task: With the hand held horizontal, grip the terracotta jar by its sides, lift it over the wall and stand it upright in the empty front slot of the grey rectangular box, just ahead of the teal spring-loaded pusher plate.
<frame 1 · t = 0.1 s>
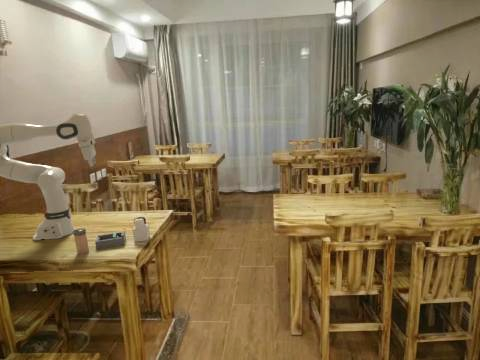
hand: (93, 165, 205), 39 cm above the table, tool pointing down, fingers open, 8 cm apart
medicine bottle: (142, 239, 191), on the table
pusher plate: (116, 237, 187), point 3 cm above the table, slide at 0.0 cm
terracotta jar: (83, 252, 178), on the table
grey rectangular box: (111, 243, 187), on the table
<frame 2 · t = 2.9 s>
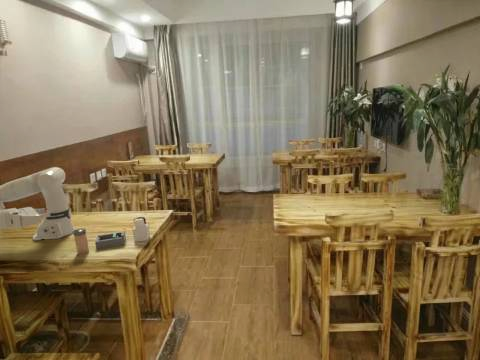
hand: (47, 212, 165), 25 cm above the table, tool horizontal, fingers open, 8 cm apart
nothing on the table moved.
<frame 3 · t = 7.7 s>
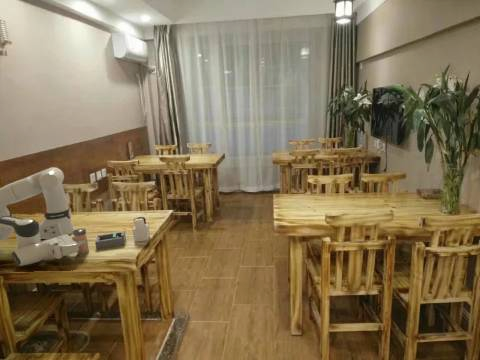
hand: (82, 239, 177), 7 cm above the table, tool horizontal, fingers closed on terracotta jar, 5 cm apart
terracotta jar: (83, 252, 178), on the table, touching gripper
everything else where it was.
when the fingers open (9 cm above the table, at t = 12.9 s): terracotta jar drops 1 cm, resting on grey rectangular box.
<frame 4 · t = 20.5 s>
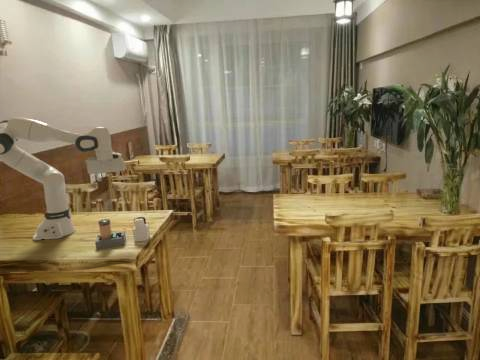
hand: (108, 180, 198), 31 cm above the table, tool pointing down, fingers open, 8 cm apart
terracotta jar: (107, 242, 186), point 1 cm above the table, touching grey rectangular box
everything else where it was.
at the end: terracotta jar 0.1 cm from the target spot on the grey rectangular box, point 1.0 cm above the grey rectangular box's base; terracotta jar tilted 1°; the gripper is holding nothing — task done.
